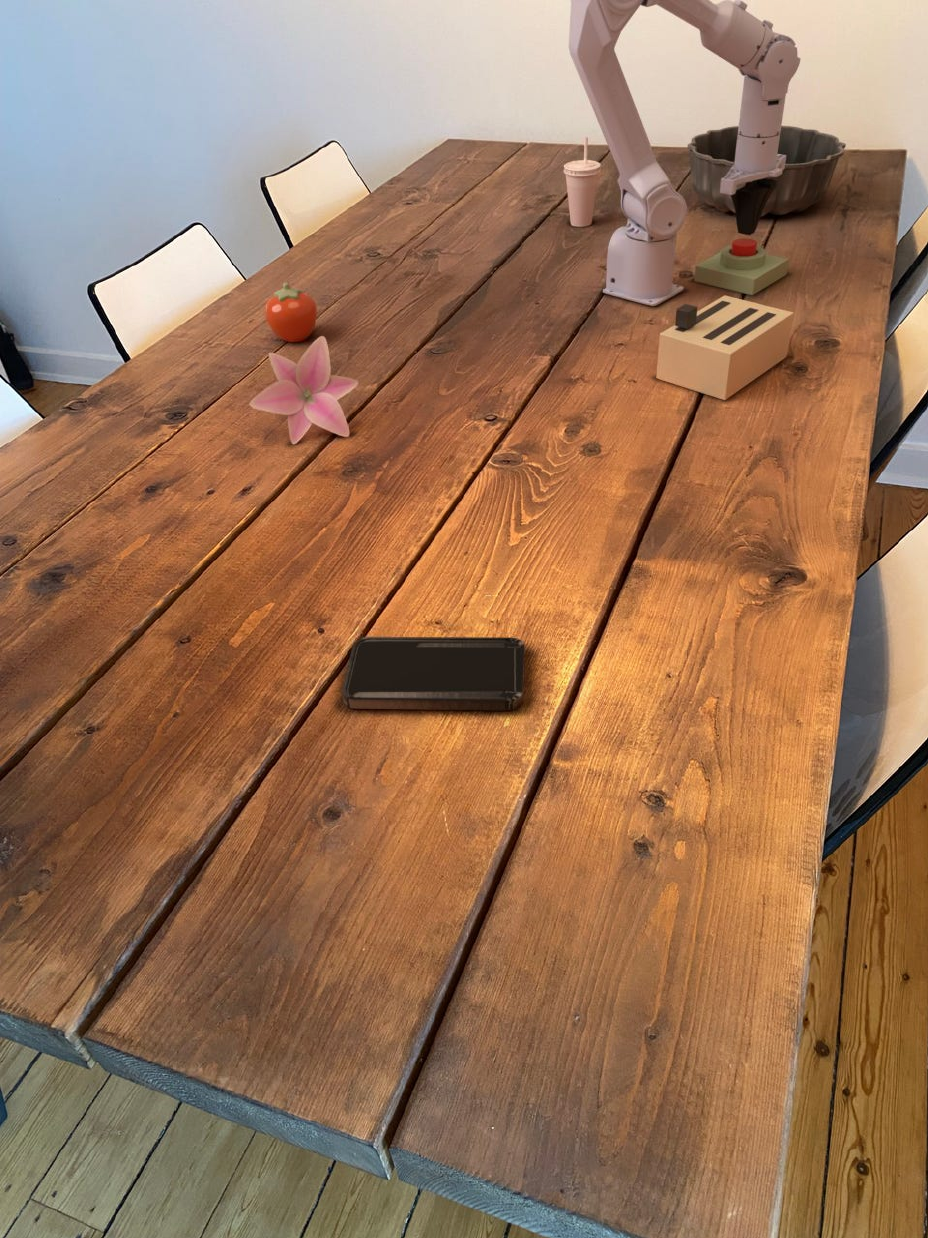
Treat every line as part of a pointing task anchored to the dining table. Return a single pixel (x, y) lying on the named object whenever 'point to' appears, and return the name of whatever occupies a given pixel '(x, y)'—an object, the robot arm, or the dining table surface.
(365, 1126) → the dining table surface
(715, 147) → the bundt pan
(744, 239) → the timer button
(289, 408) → the lily
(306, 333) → the tomato
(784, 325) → the toaster
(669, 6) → the robot arm
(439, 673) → the phone
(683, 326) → the slider
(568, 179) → the smoothie
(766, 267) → the green button base
